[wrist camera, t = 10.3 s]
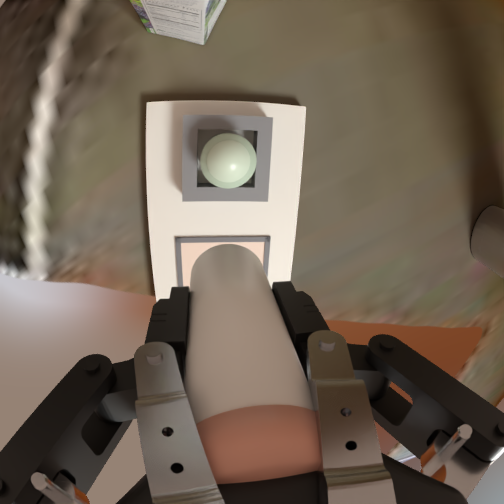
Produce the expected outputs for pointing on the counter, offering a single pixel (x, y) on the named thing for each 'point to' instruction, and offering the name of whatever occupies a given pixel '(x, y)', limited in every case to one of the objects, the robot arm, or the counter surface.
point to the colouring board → (221, 199)
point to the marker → (245, 373)
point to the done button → (228, 160)
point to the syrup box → (180, 17)
